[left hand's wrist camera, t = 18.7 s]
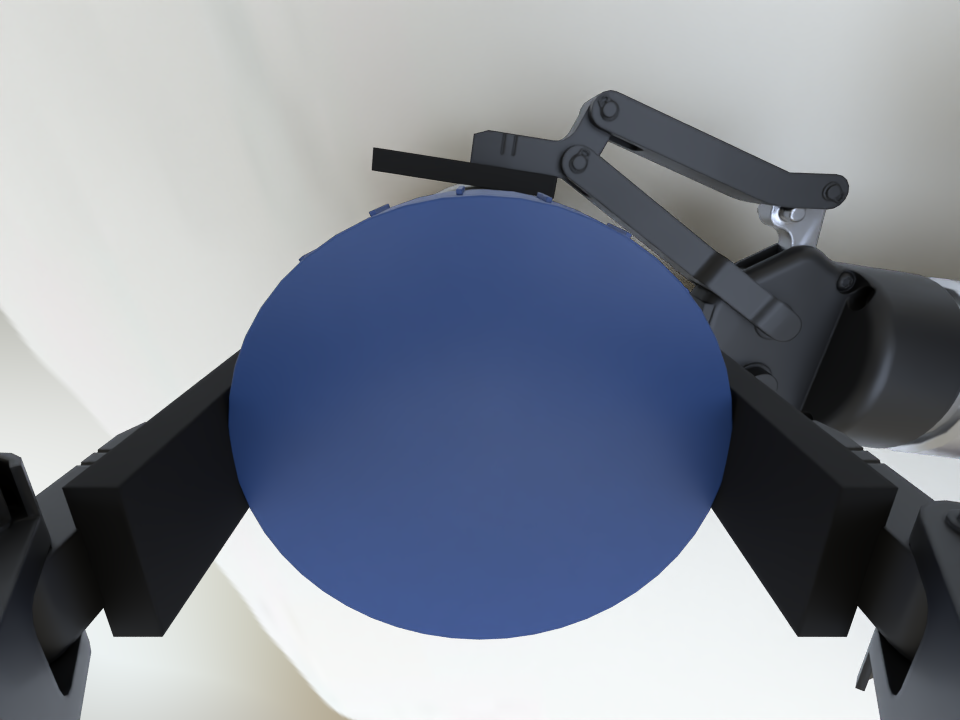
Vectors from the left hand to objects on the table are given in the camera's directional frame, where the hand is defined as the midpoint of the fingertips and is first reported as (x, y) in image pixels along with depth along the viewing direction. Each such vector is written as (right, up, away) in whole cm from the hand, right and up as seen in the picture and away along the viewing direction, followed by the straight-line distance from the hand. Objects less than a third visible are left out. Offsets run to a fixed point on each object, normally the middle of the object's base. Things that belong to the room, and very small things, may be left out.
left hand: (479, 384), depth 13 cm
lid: (0, -1, -3) cm, 3 cm away
